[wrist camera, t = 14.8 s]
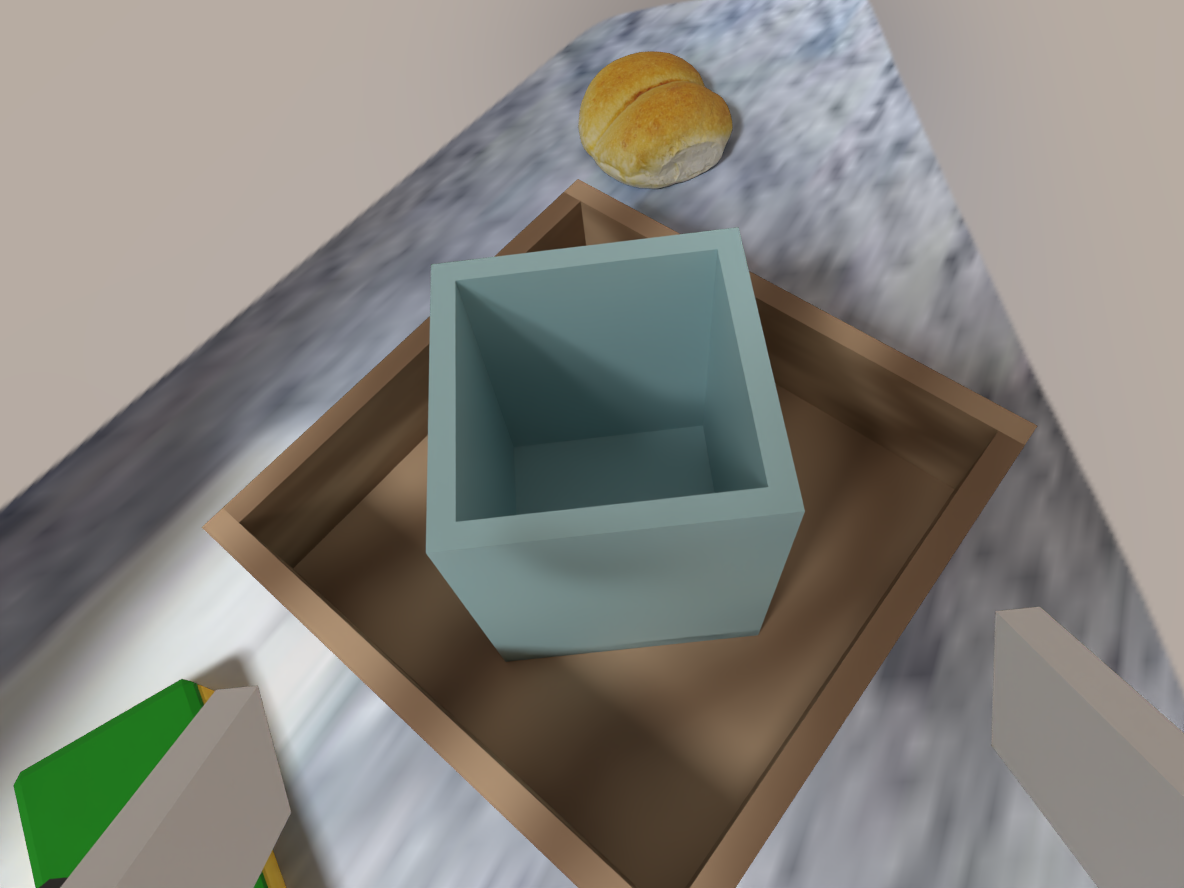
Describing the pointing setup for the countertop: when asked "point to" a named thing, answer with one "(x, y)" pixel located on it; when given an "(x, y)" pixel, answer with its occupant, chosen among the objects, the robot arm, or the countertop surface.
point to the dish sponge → (104, 782)
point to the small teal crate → (607, 446)
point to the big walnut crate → (648, 674)
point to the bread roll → (653, 121)
